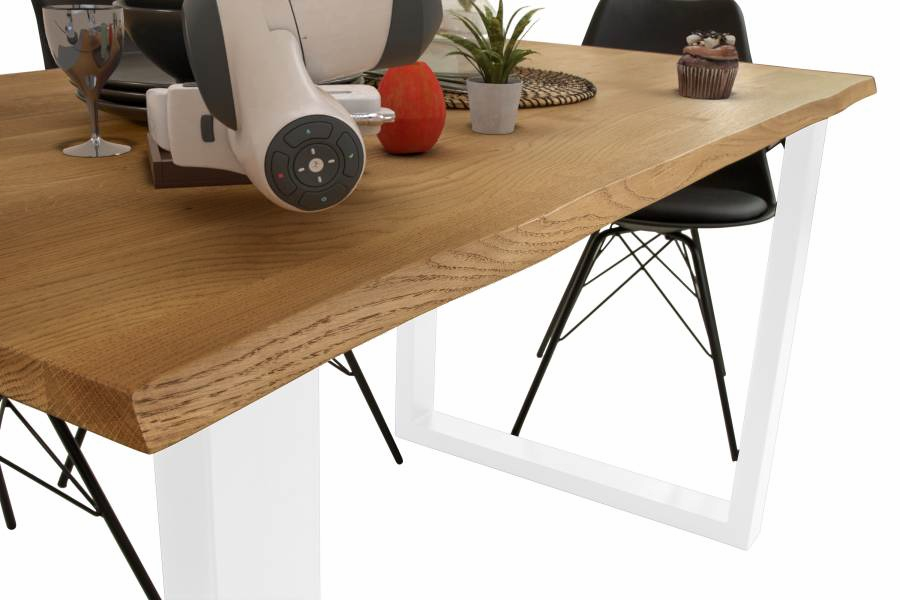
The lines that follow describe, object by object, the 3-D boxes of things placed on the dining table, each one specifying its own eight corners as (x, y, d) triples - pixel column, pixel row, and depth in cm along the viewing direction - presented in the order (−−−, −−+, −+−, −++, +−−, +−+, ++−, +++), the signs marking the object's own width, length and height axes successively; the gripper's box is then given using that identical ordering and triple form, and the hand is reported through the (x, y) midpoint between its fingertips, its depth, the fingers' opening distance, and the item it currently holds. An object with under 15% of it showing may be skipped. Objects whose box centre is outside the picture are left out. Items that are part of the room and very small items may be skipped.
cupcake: (747, 96, 159) (755, 31, 156) (713, 102, 153) (720, 34, 149) (695, 89, 166) (702, 26, 162) (661, 94, 159) (667, 29, 156)
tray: (155, 189, 94) (152, 161, 93) (148, 157, 107) (146, 132, 106) (359, 179, 100) (359, 153, 99) (329, 149, 113) (329, 126, 112)
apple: (417, 163, 107) (418, 61, 104) (356, 153, 111) (355, 54, 108) (458, 151, 114) (461, 54, 110) (399, 142, 118) (400, 48, 114)
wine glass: (118, 140, 115) (106, 3, 110) (146, 152, 109) (134, 9, 104) (48, 147, 110) (31, 5, 105) (73, 160, 105) (57, 11, 99)
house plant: (493, 115, 137) (497, -10, 131) (573, 130, 128) (582, -4, 122) (417, 127, 127) (419, -8, 122) (499, 143, 118) (505, -1, 113)
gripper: (401, 82, 84) (363, 62, 97) (148, 87, 78) (141, 65, 91) (401, 156, 87) (363, 127, 99) (154, 167, 80) (147, 134, 93)
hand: (255, 97), depth 95 cm, fingers open, 8 cm apart
